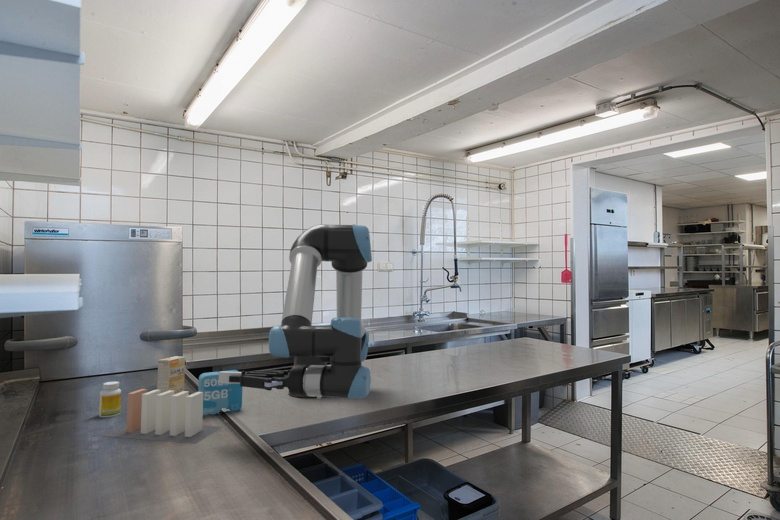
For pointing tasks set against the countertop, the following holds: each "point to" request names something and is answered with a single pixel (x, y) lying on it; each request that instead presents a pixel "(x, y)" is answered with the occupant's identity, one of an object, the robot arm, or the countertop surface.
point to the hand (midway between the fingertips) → (220, 377)
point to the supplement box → (171, 374)
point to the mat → (164, 435)
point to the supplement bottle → (110, 400)
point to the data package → (219, 393)
